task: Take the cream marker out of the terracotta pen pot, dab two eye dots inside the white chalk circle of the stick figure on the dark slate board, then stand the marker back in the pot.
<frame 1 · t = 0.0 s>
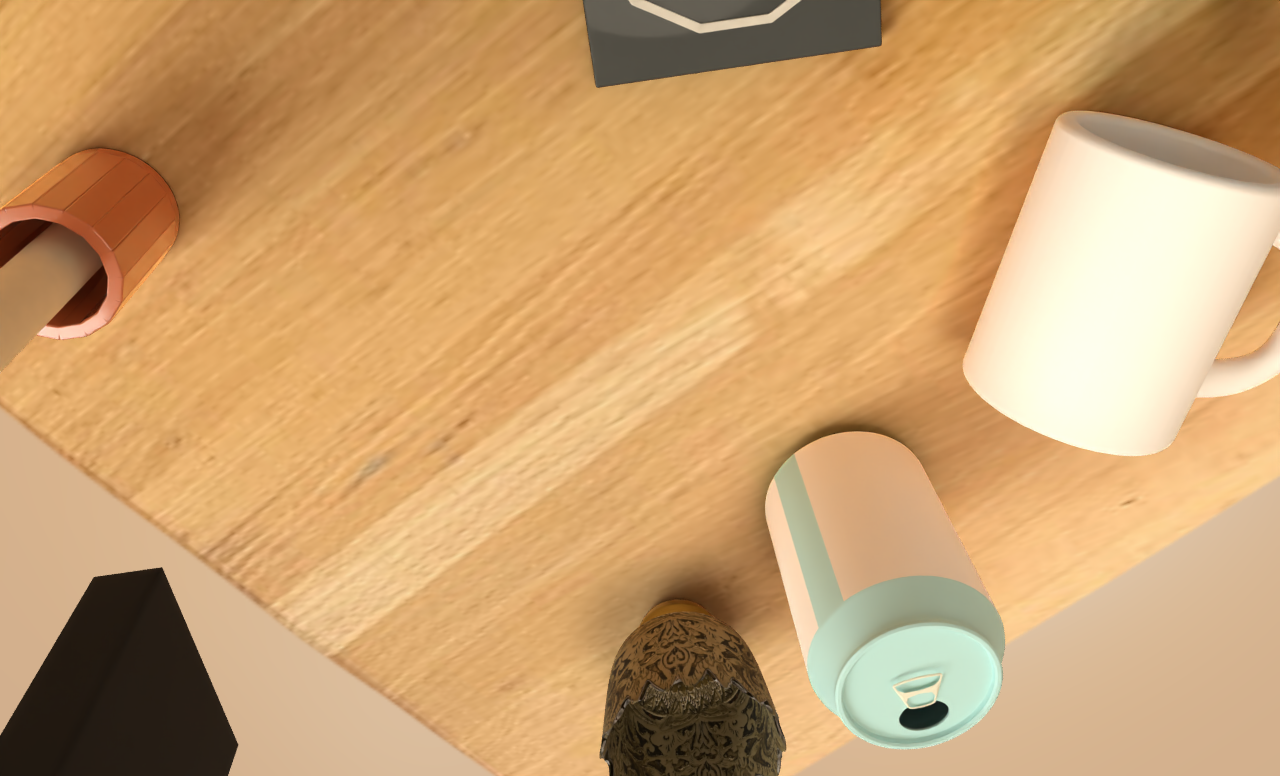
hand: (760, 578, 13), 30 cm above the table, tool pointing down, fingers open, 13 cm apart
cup: (676, 620, 52), on the table
mug: (1117, 247, 44), on the table
marker: (12, 307, 33), in the pen pot
pen pot: (114, 209, 40), on the table
can: (842, 489, 49), on the table
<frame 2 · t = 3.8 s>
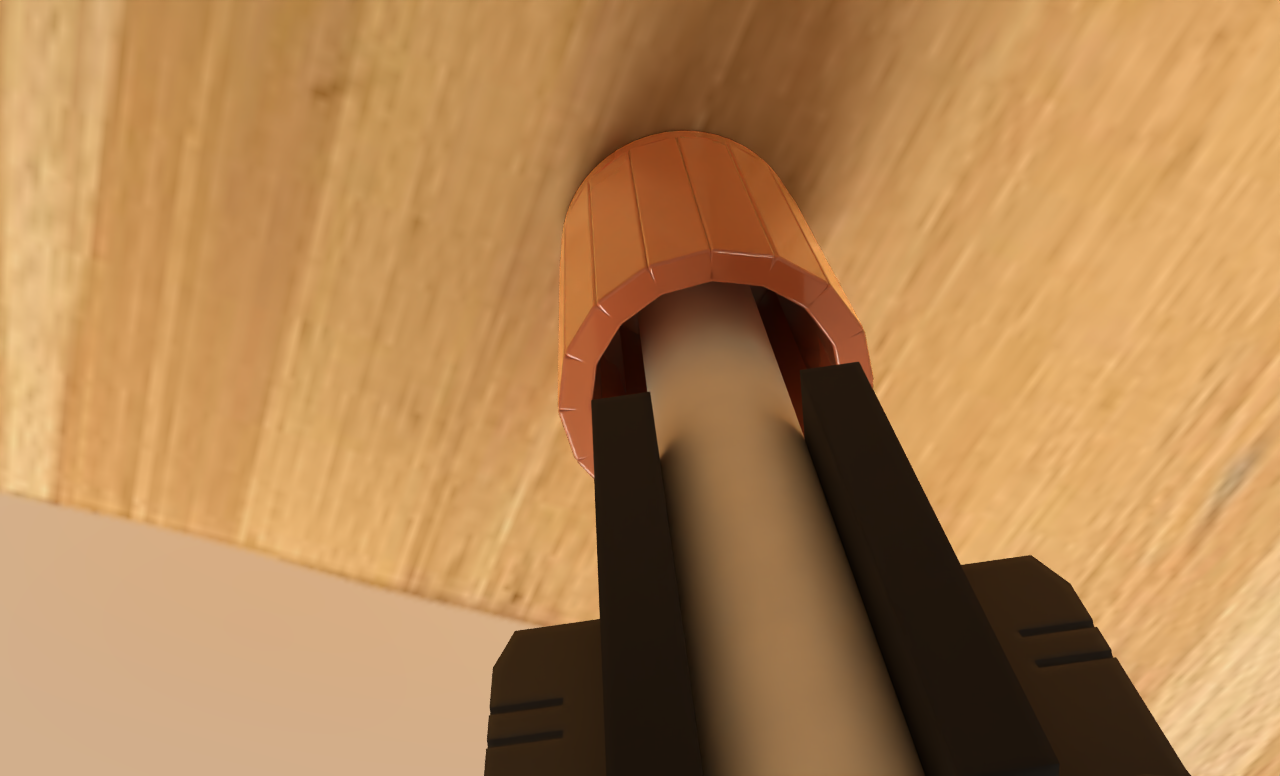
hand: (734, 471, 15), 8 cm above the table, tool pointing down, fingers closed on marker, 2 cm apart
marker: (740, 493, 14), in the pen pot, touching gripper
pen pot: (680, 246, 22), on the table
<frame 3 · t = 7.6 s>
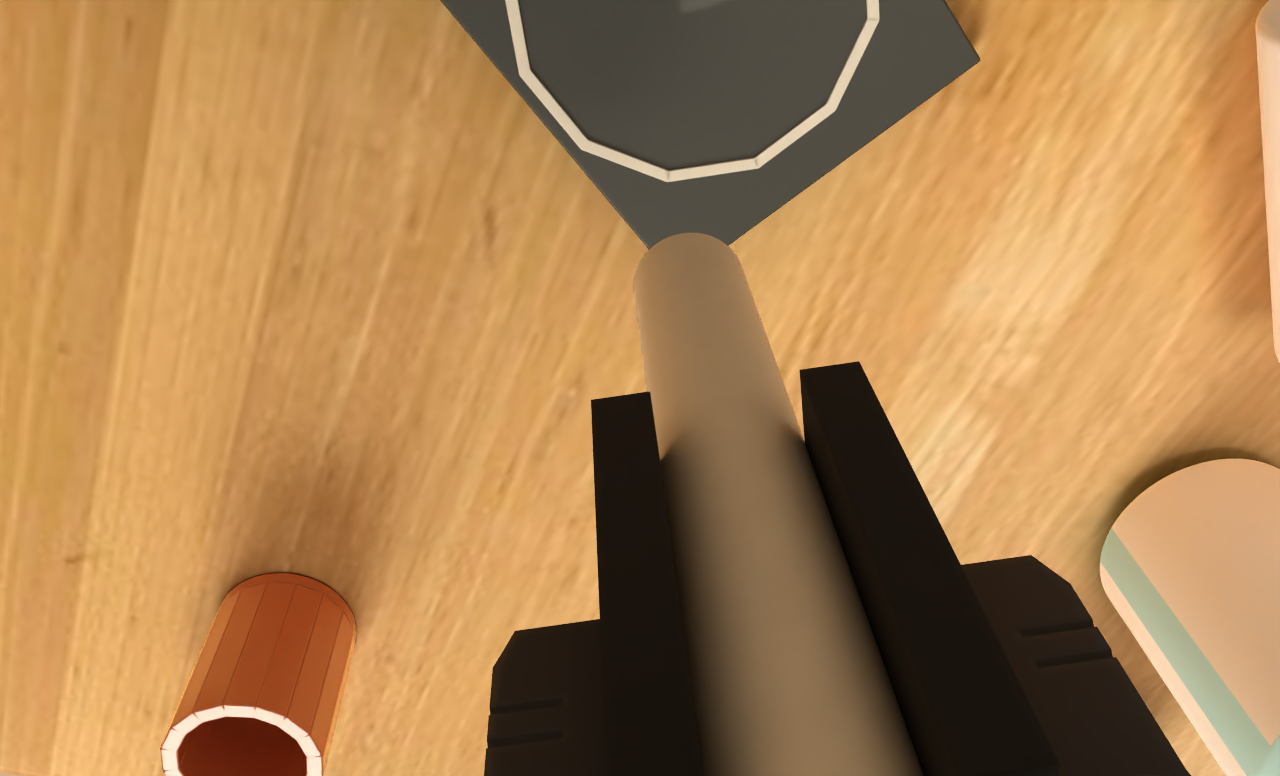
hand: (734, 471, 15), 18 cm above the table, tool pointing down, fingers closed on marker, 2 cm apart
marker: (740, 497, 14), point 18 cm above the table, touching gripper
pen pot: (287, 626, 38), on the table
can: (1190, 531, 38), on the table
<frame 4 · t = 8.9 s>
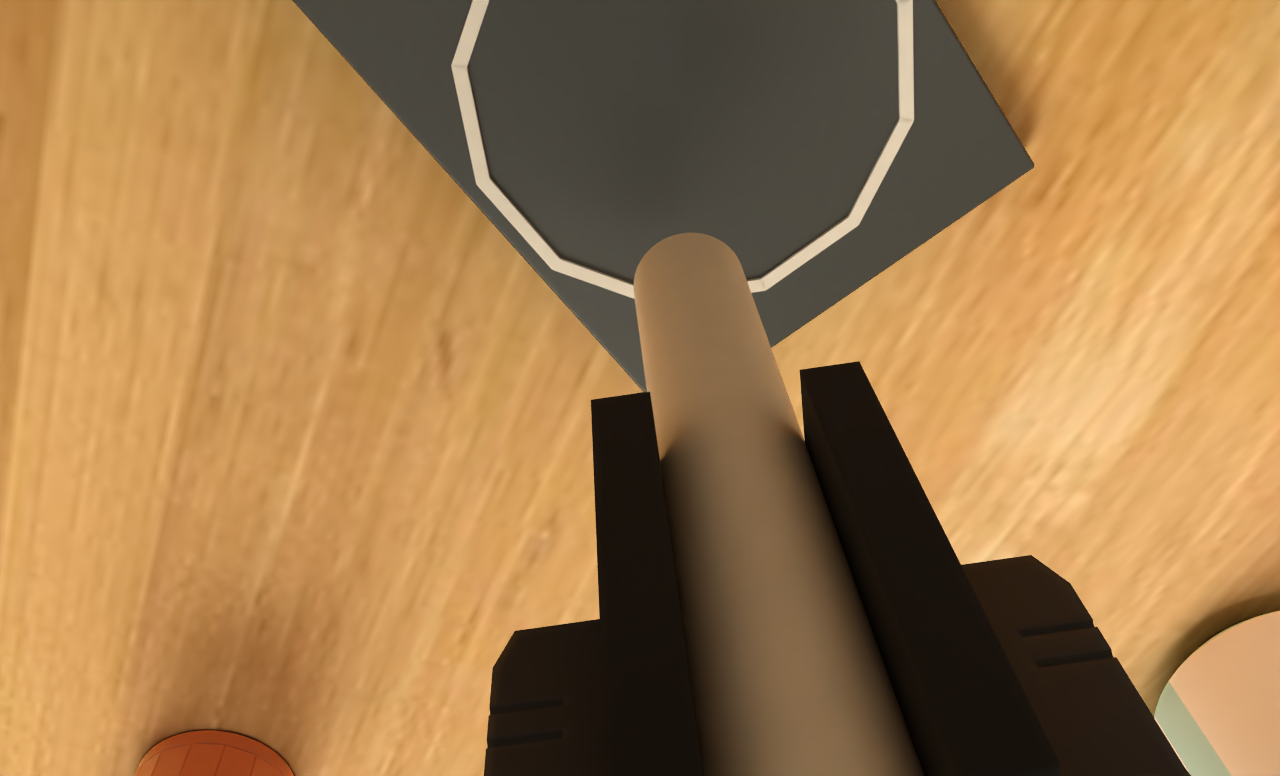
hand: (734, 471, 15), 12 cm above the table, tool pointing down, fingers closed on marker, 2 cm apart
marker: (740, 497, 14), point 12 cm above the table, touching gripper
can: (1257, 678, 33), on the table
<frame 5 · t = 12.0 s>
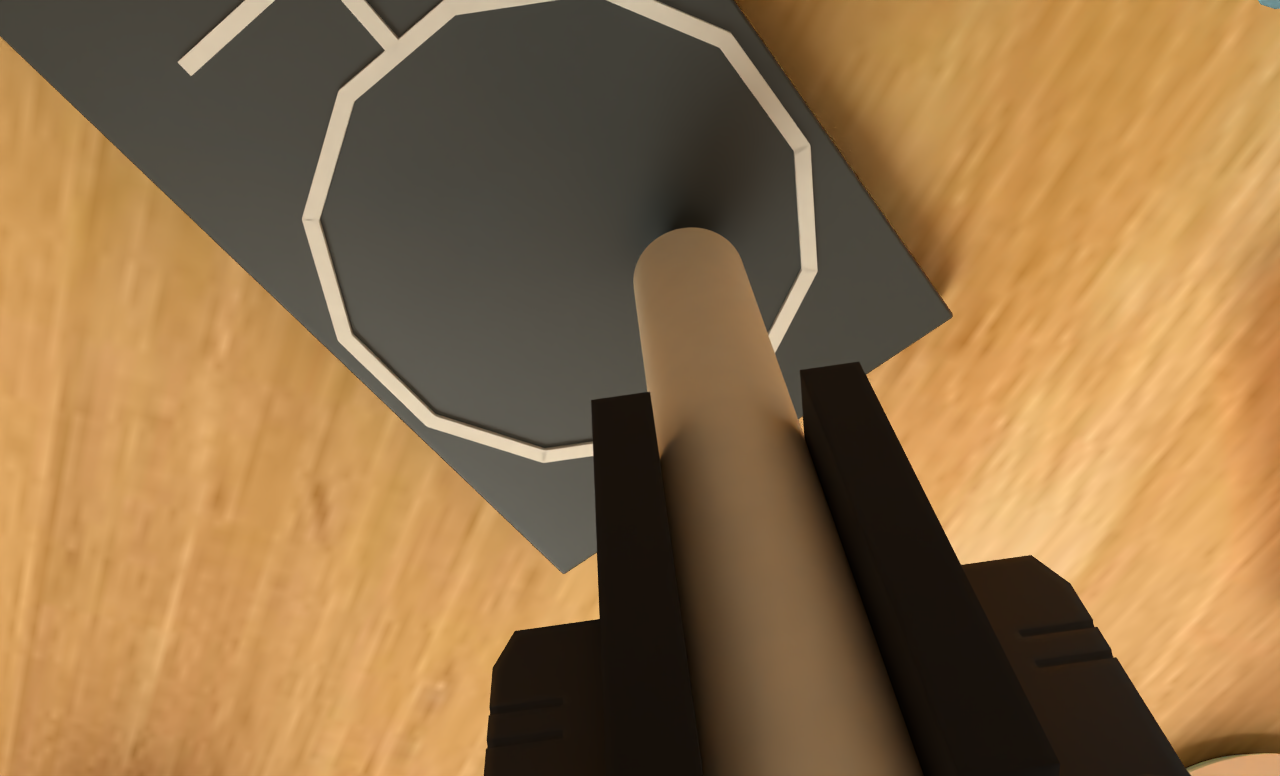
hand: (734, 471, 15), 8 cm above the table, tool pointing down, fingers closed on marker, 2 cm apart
slate: (421, 69, 19), on the table
marker: (741, 496, 14), on the slate, point 9 cm above the table, touching gripper
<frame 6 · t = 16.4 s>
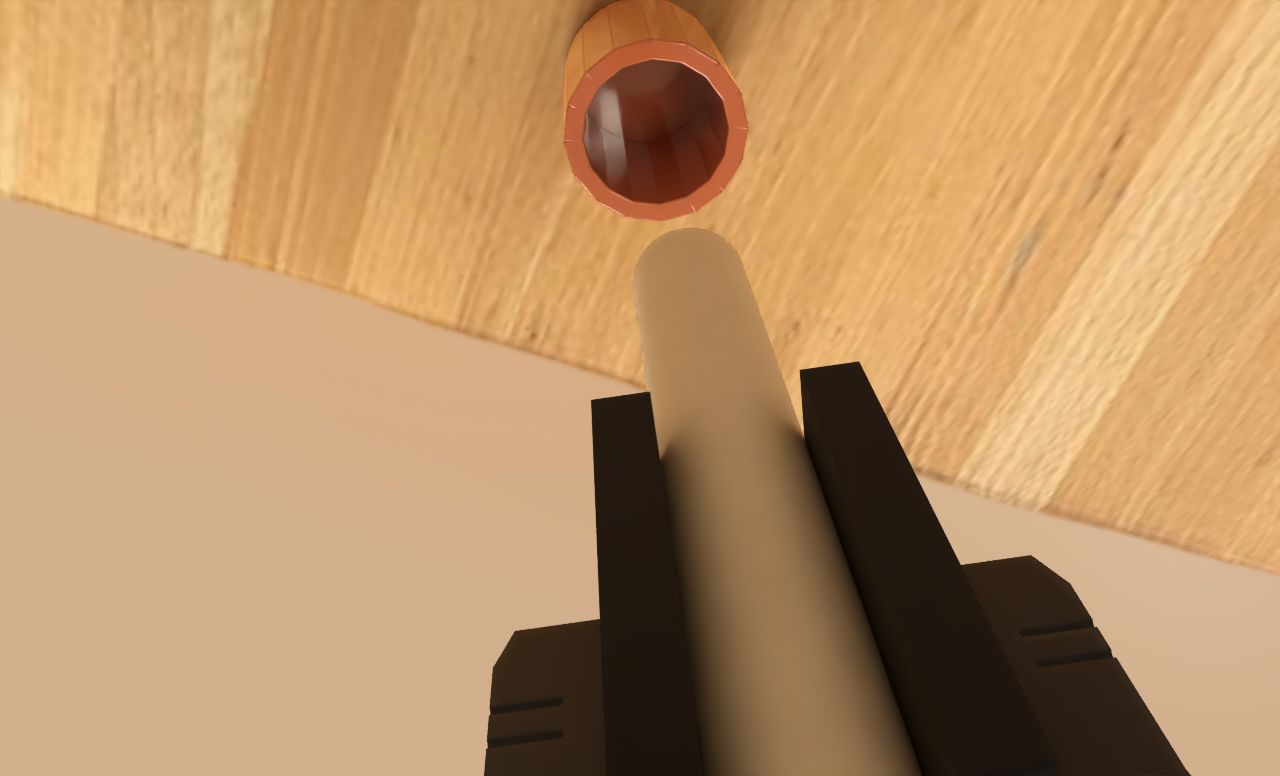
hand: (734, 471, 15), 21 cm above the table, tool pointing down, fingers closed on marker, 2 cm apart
marker: (741, 499, 14), point 22 cm above the table, touching gripper
pen pot: (642, 77, 33), on the table
when the fingers open (8 cm above the table, at t = 19.5 s): marker stays where it is, resting on pen pot.
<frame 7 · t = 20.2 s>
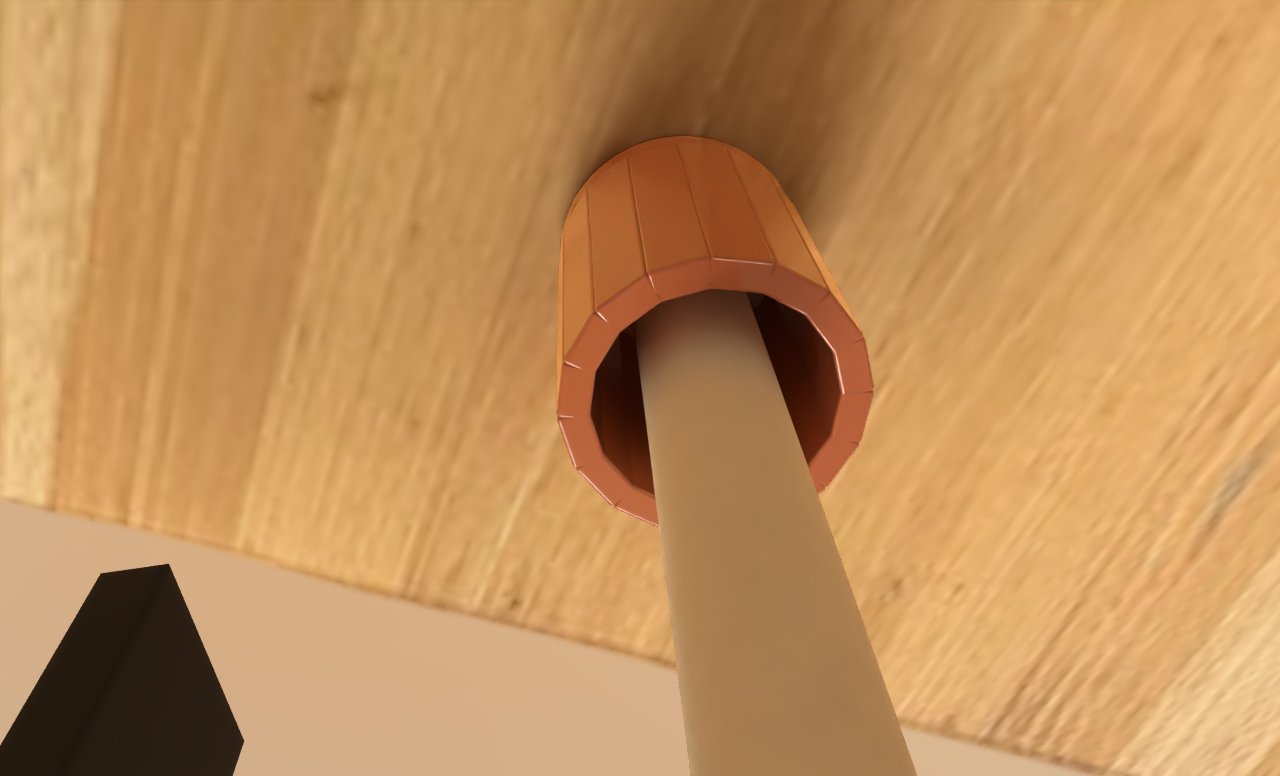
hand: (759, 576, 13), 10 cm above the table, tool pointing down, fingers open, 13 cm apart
marker: (735, 502, 14), in the pen pot
pen pot: (679, 252, 21), on the table
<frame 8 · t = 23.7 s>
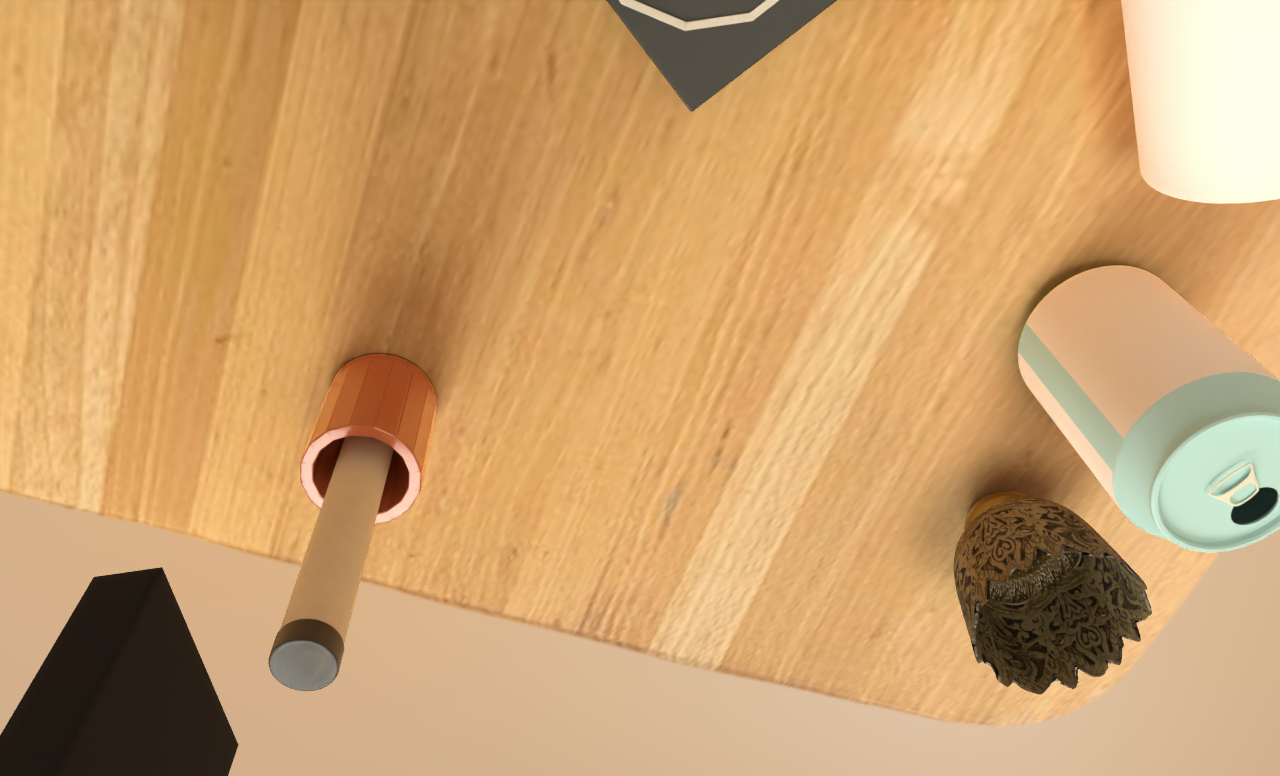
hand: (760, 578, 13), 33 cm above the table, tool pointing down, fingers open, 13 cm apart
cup: (996, 514, 53), on the table
marker: (348, 513, 41), in the pen pot
pen pot: (383, 400, 48), on the table
can: (1090, 331, 49), on the table
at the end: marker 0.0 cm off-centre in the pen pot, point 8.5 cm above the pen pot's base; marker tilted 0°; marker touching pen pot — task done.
